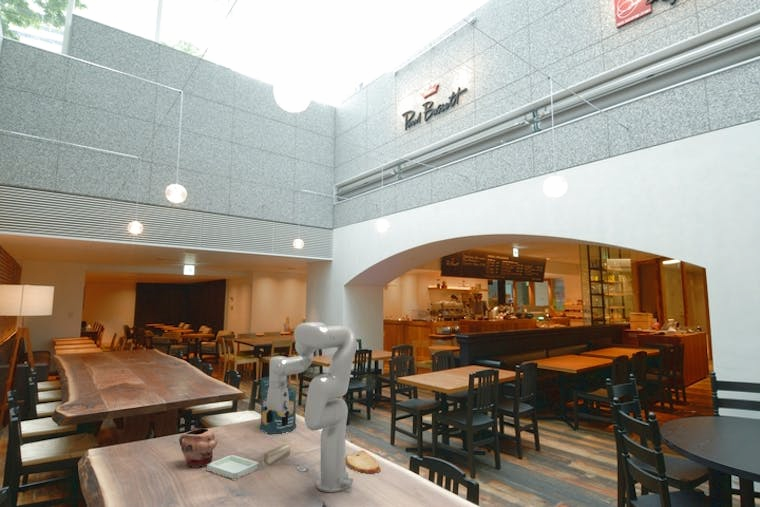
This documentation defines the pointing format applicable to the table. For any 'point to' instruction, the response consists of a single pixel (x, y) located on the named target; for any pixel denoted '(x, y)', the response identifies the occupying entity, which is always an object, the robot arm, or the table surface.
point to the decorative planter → (198, 447)
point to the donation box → (276, 424)
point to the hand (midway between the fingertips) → (277, 423)
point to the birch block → (276, 455)
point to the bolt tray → (233, 466)
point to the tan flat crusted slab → (362, 463)
